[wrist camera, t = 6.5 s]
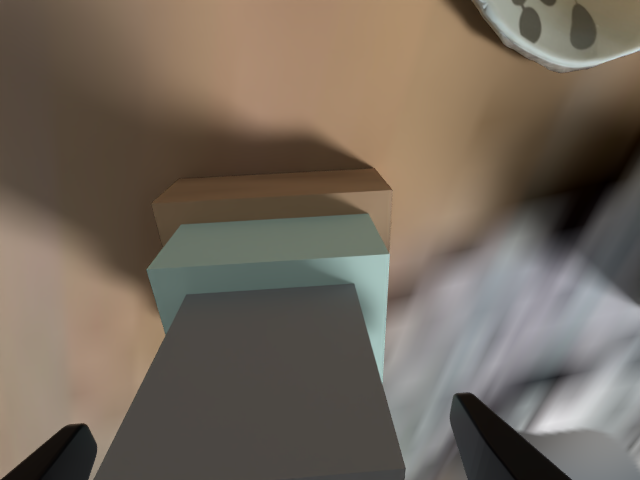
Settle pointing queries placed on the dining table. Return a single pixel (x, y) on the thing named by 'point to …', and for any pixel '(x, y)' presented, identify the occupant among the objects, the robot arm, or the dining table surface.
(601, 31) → the salad plate
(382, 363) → the teal slab
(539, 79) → the dining table surface
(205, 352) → the charcoal block
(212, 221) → the tan flat block
